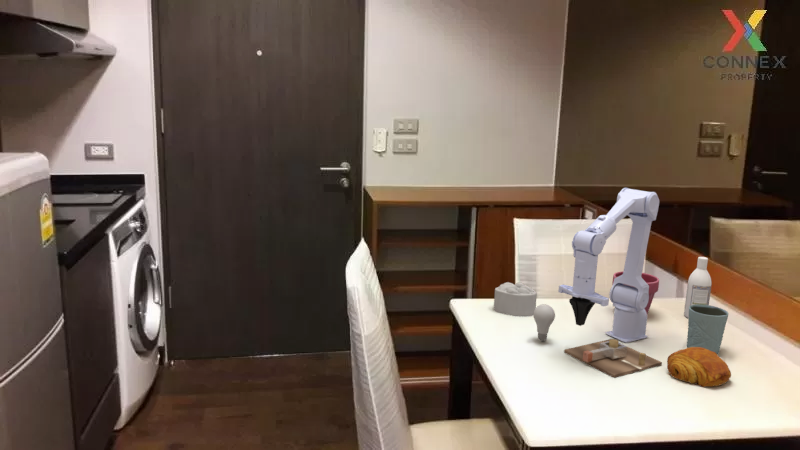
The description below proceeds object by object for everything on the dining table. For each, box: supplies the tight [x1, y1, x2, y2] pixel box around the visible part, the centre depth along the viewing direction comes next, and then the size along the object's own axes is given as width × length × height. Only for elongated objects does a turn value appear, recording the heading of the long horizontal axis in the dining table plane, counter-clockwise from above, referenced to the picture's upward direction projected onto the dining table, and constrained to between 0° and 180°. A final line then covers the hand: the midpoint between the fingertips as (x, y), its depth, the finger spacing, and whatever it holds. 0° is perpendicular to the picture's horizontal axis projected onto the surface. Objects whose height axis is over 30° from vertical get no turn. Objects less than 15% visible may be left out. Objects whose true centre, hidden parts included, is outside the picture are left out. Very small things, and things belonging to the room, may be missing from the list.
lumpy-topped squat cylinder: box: [493, 281, 538, 317], centre depth 217 cm, size 10×13×9 cm
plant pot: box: [611, 270, 660, 315], centre depth 217 cm, size 14×14×13 cm
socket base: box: [563, 338, 663, 379], centre depth 181 cm, size 18×18×5 cm
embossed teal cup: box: [686, 304, 729, 356], centre depth 189 cm, size 10×10×12 cm
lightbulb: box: [532, 303, 556, 342], centre depth 191 cm, size 6×6×11 cm
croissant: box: [666, 347, 732, 388], centre depth 172 cm, size 14×16×8 cm
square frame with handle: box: [583, 341, 628, 362], centre depth 179 cm, size 13×5×3 cm, turn 120°
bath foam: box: [683, 256, 713, 319], centre depth 215 cm, size 7×7×20 cm
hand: (580, 324), depth 180 cm, fingers closed
